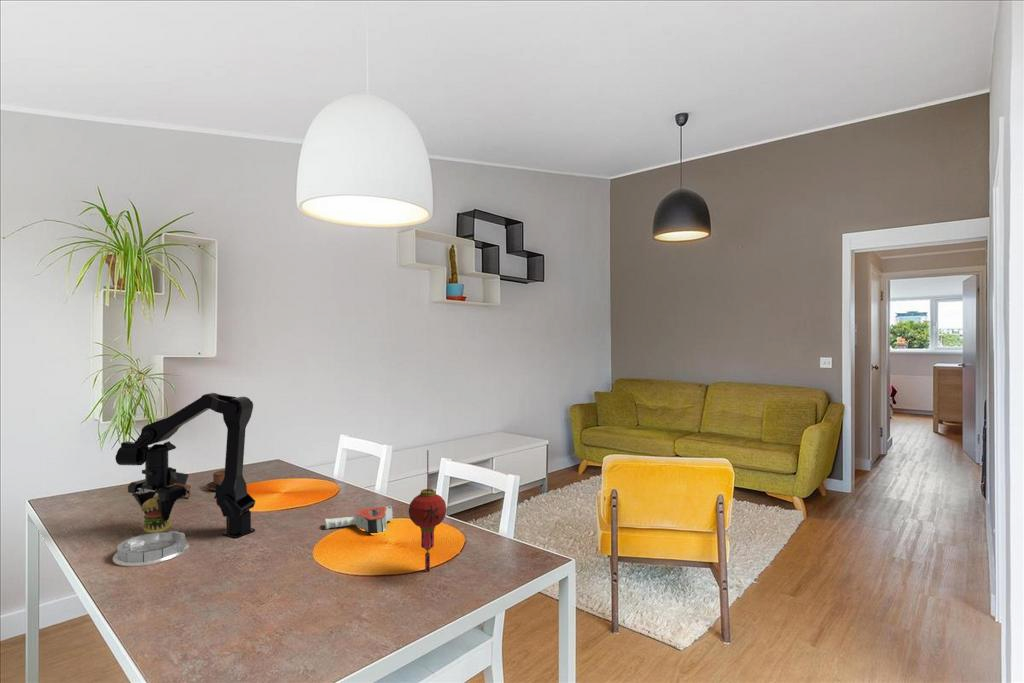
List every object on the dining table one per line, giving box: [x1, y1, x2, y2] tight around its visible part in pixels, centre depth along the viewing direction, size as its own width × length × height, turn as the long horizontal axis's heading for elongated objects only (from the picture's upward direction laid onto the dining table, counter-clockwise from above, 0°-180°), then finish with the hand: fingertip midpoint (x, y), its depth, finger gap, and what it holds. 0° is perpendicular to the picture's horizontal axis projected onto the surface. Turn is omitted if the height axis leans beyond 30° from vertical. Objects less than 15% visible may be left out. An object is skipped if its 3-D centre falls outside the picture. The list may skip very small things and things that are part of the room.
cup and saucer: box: [205, 469, 225, 492], centre depth 206 cm, size 12×12×6 cm
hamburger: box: [140, 492, 172, 534], centre depth 161 cm, size 8×7×12 cm
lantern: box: [408, 450, 448, 573], centre depth 135 cm, size 10×10×30 cm
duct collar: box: [112, 530, 190, 568], centre depth 146 cm, size 17×17×3 cm
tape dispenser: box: [324, 505, 393, 534], centre depth 166 cm, size 18×5×20 cm
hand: (157, 518), depth 161 cm, fingers open, 8 cm apart
